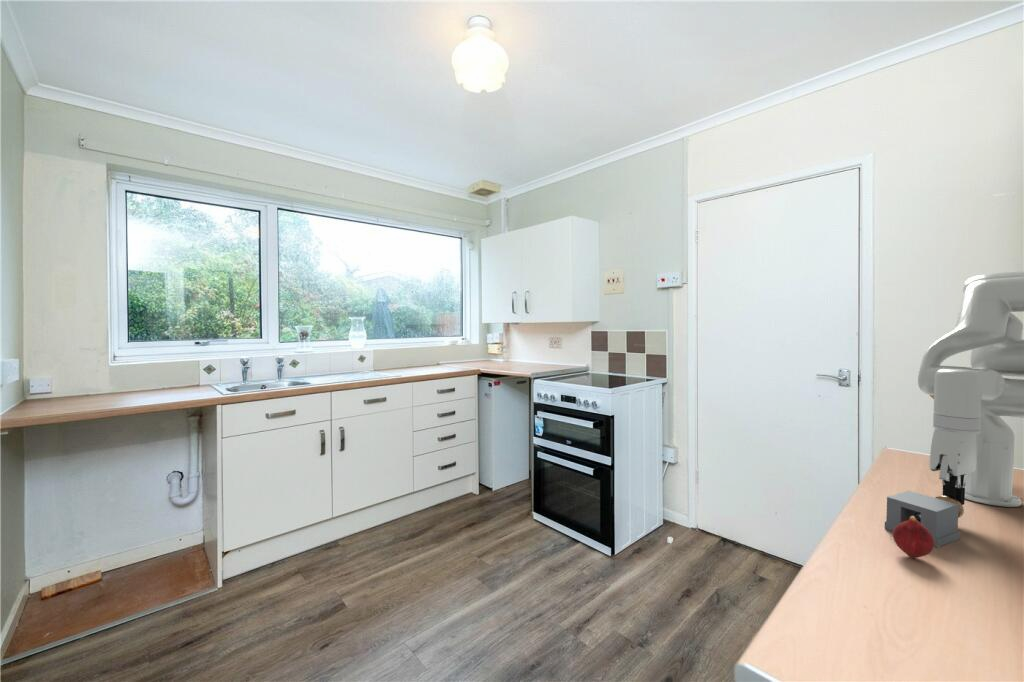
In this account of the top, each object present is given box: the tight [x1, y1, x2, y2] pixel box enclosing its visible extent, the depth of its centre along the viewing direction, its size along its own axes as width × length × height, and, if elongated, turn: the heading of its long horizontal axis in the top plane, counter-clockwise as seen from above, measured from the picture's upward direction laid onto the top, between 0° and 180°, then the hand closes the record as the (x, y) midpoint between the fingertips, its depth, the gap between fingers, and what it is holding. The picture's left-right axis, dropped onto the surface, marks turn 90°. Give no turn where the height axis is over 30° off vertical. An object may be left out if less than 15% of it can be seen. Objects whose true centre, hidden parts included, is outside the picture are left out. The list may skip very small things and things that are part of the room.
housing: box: [884, 490, 961, 548], centre depth 93 cm, size 9×9×7 cm
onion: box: [892, 516, 935, 559], centre depth 83 cm, size 6×6×8 cm
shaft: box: [914, 494, 965, 522], centre depth 96 cm, size 13×5×5 cm, turn 114°
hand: (953, 503), depth 99 cm, fingers closed
